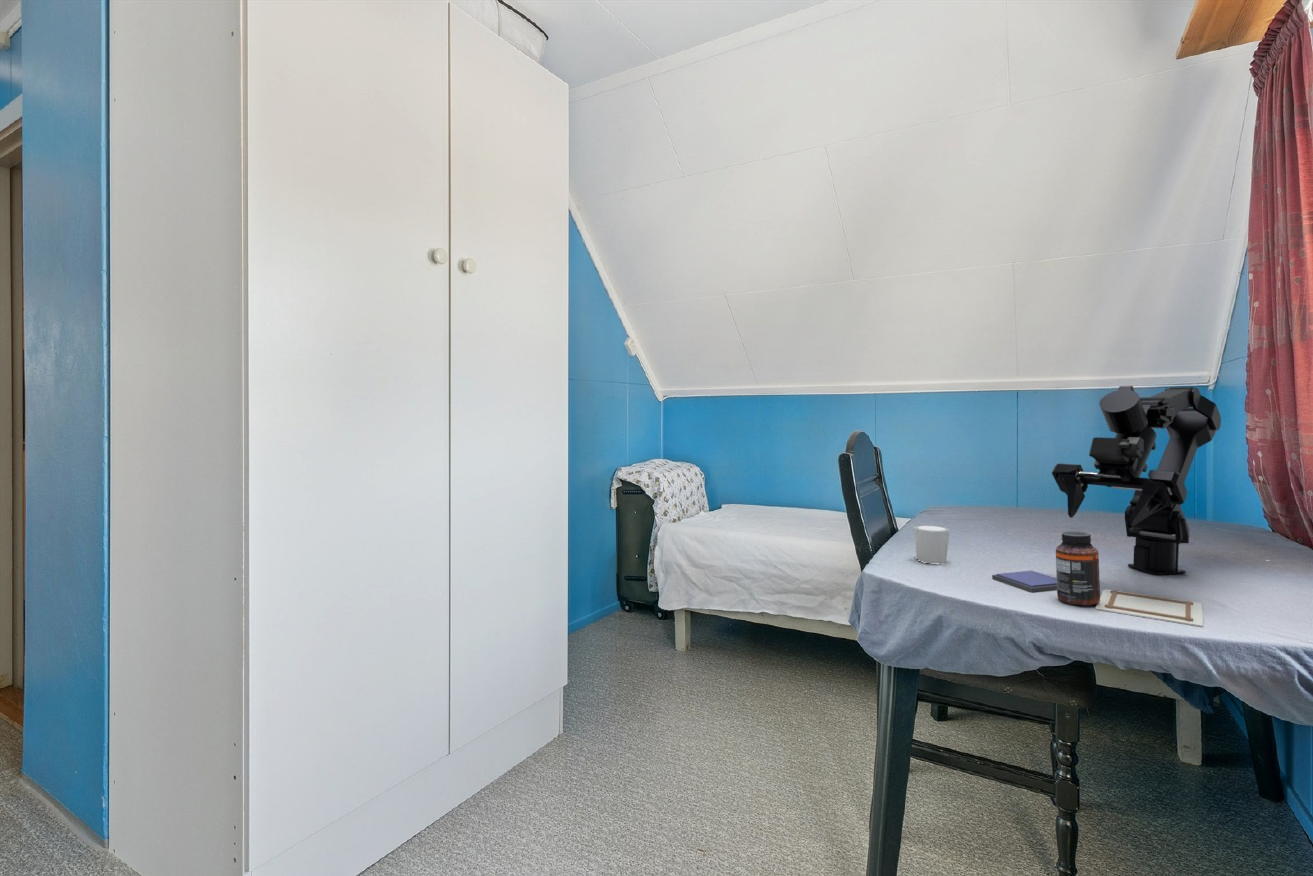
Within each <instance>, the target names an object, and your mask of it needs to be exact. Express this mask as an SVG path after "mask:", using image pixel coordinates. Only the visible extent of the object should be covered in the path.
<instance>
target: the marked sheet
mask: <svg viewBox="0 0 1313 876" xmlns="http://www.w3.org/2000/svg"><path fill="white" fill-rule="evenodd" d="M1198 604H1202V605H1198ZM1094 608H1095V610H1098V611H1104V612H1110V613H1117V614H1120V615H1122V614H1123V615H1129V616H1133V617H1134V616H1135V617H1141V618H1147V619H1151V620H1152V619H1153V620H1159V621H1164V622H1170V623H1177V624H1182V625H1189V626H1195V627H1201V628H1204V618H1203V617H1204V616H1203V615H1204V614H1203V603H1201V602H1196V601H1191V600H1190V601H1188V600H1181V599H1174V598H1167V597H1162V596H1153V595H1147V594H1140V593H1132V592H1126V591H1119V590H1113V589H1112V590H1111V589H1108V588H1107V589H1105V588H1103V590H1102V592H1101V593H1100V602H1099V603H1097V604H1096V606H1095V607H1094Z"/></svg>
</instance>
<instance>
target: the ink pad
mask: <svg viewBox="0 0 1313 876" xmlns="http://www.w3.org/2000/svg"><path fill="white" fill-rule="evenodd" d="M991 579H993V580H995V581H998V582H1000V583H1004V584H1005V585H1010V586H1013V587H1015V588H1018V589H1021V590H1024V591H1027V592H1029V593H1038V592H1039V593H1040V592H1048V591H1057V577H1054V576H1050V575H1049V574H1044V573H1041V572H1038V571H1034V570H1025V571H1014V572H1013V571H1012V572H1001V573H996V574H992V575H991Z"/></svg>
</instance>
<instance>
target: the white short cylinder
mask: <svg viewBox="0 0 1313 876" xmlns="http://www.w3.org/2000/svg"><path fill="white" fill-rule="evenodd" d="M913 531H914V532H913V533H914V543H915V554H916V560H917V559H918V560H920V561H923V562H926V563H945V564H946V563H947V557H948V548H949V540H950V531H951V529H950V528H948V527H945V526H940V525H928V524H927V525H926V524H925V525H916V526H914V527H913Z"/></svg>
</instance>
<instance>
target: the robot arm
mask: <svg viewBox="0 0 1313 876" xmlns="http://www.w3.org/2000/svg"><path fill="white" fill-rule="evenodd" d="M1099 408H1100V410H1101V412H1102V415H1103V417H1104V420H1105V422H1106V425H1107V427H1108V430H1109V432H1112V433H1114V434H1115V436H1114V437H1100V436H1099V437H1093V438H1092V441H1091V444H1090V445H1091V446H1090V447H1089V448H1090V449H1089V454H1088V456H1090V457H1091V458H1093V459H1094V463H1093V465H1094V467H1095V469H1096V470H1098V471H1099V472H1090V471H1089V472H1088V471H1084V469H1083V467H1082V464H1075V463H1063V462H1062V463H1057V464H1055V465H1054V467H1053V469H1052V471H1051V474H1052V476H1053V478H1054V481H1055V482H1056V484H1057V486H1058V489H1059V491H1061V492H1062V493H1064V494H1065V495H1066V496H1067V515H1068V517H1069V518H1071V519H1072V518H1074V516H1076V514H1077V513H1078V510H1079V508H1080V506H1081V505H1082V503H1083V502H1084V500H1085V498H1086V495H1085V493H1086V492H1087V490H1088V487H1089V485H1091V486H1093V485H1094V486H1104V487H1107V488H1113V489H1120V490H1121V489H1122V490H1133V491H1134V493H1133V495H1132V498H1131V500H1130V501H1129V505H1127V506H1126V508H1125V511H1124V523H1125V531H1126V537H1128V538H1135V545H1134V546H1133V562H1132V563H1127V567H1128V568H1131V569H1136V570H1138V571H1142V572H1146V573H1147V574H1149V573H1150V574H1151V575H1156V576H1157V575H1158V576H1159V575H1176V574H1178V575H1179V574H1186V572H1187V571H1186V570H1184V569H1180V568H1179V551H1180V550H1179V546H1180V545H1181V544H1190V535H1191V534H1190V532H1191V531H1190V527H1189V525H1188V522H1187V519H1186V517H1185V513H1184V512H1183V510H1182V509H1183V508H1182V506H1181V505H1182V504H1185V501H1186V499H1187V495H1188V490H1187V487H1186V484H1185V481H1186V479H1187V476H1188V474H1189V471H1190V469H1191V466H1192V463H1193V461H1194V459H1195V456H1196V454H1197V450H1198V448H1200V447H1202V446H1204V445H1206V444H1208V443H1210V442H1211V441H1212V440H1213V438H1214V437H1215V435H1216V432H1217V431H1220V428H1221V425H1222V418H1221V417H1222V416H1221V413H1220V411H1219V408H1218V406H1217V404H1216V403H1215V402H1213V400H1211V399H1209V398H1207V397H1205V396H1203V395H1202V394H1201V392H1200V390H1199V387H1194V386H1176V387H1175V386H1174V387H1173V386H1172V387H1171V386H1170V387H1169V388H1165V390H1164V391H1161V392H1160V393H1159V392H1158V393H1157V394H1154V395H1152V396H1148V397H1140V395H1139V394H1138V392H1136V391H1135V389H1134V386H1133V385H1123V386H1121V385H1120V386H1119V387H1118V389H1117V390H1114V391H1111V392H1109V393H1107V394H1106V395H1104V396H1103V397H1102V398H1100V400H1099ZM1155 429H1160V430H1161V429H1165V430H1166V433H1167V436H1168V438H1169V439H1168V442H1167V444H1166V447H1165V449H1164V452H1163V454H1162V456H1161V458H1160V461H1159V463H1158V466H1157V468H1156V469H1150V470H1149V471H1148V474H1147V476H1148V477H1141V476H1142V473H1143V472H1144V473H1146V472H1147V470H1148V466H1147V461H1148V458H1149V456H1150V453H1151V451H1155V450H1156V449H1157V443H1156V440H1157V432H1156V431H1155Z"/></svg>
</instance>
